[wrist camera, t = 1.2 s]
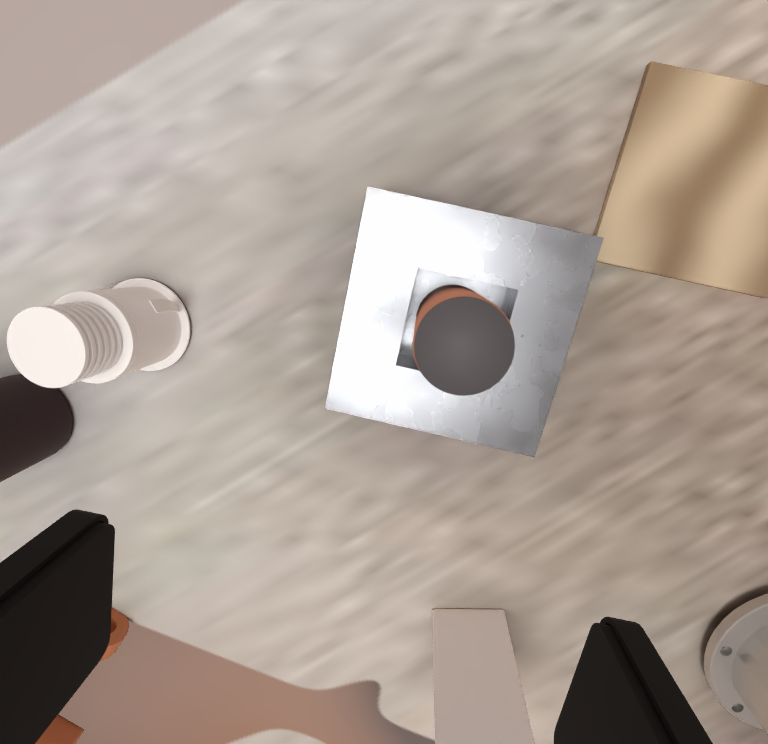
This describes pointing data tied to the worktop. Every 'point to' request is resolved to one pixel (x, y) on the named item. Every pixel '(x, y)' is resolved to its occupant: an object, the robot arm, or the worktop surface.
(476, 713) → the milk
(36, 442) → the wine bottle
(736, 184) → the plate
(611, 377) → the worktop surface
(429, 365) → the orange grey-topped cylinder
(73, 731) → the crank
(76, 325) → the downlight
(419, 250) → the bore housing
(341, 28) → the worktop surface
